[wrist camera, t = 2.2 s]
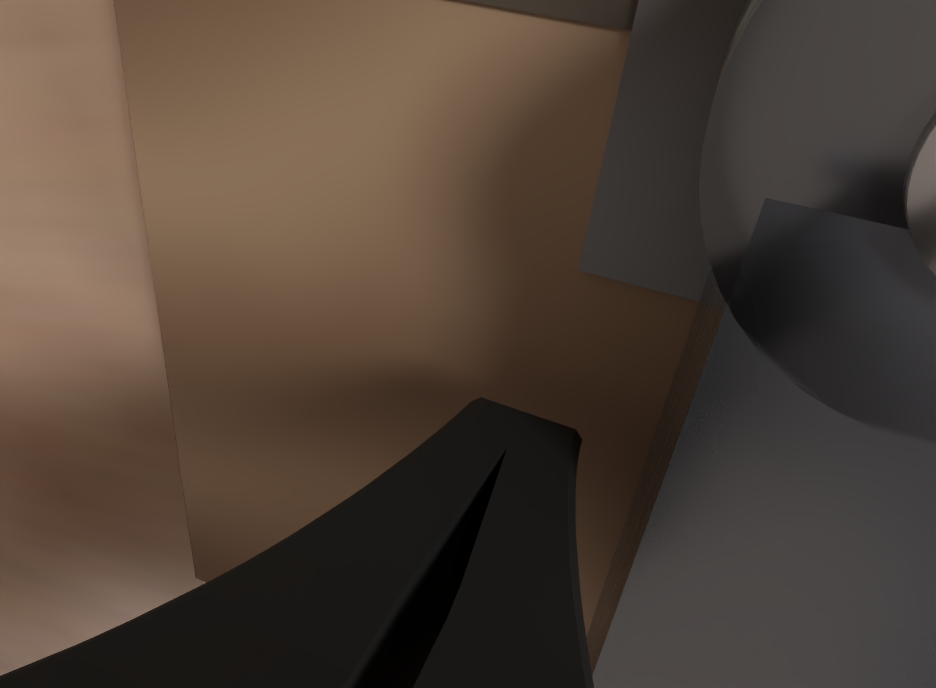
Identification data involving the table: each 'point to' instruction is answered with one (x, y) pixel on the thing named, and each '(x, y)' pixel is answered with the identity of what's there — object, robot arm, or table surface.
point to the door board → (415, 237)
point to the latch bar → (798, 377)
